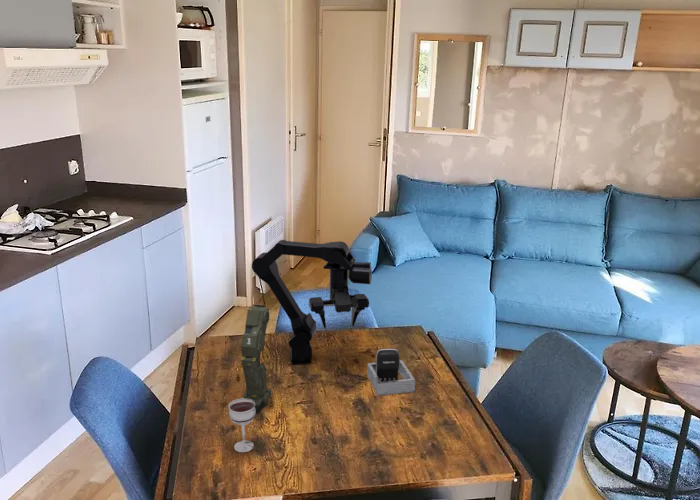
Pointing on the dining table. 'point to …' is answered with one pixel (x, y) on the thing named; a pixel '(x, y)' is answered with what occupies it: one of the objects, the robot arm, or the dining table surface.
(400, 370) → the hollow square metal frame
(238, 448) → the wineglass
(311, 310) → the robot arm
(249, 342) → the mechanical leg
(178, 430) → the dining table surface
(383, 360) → the battery charger
